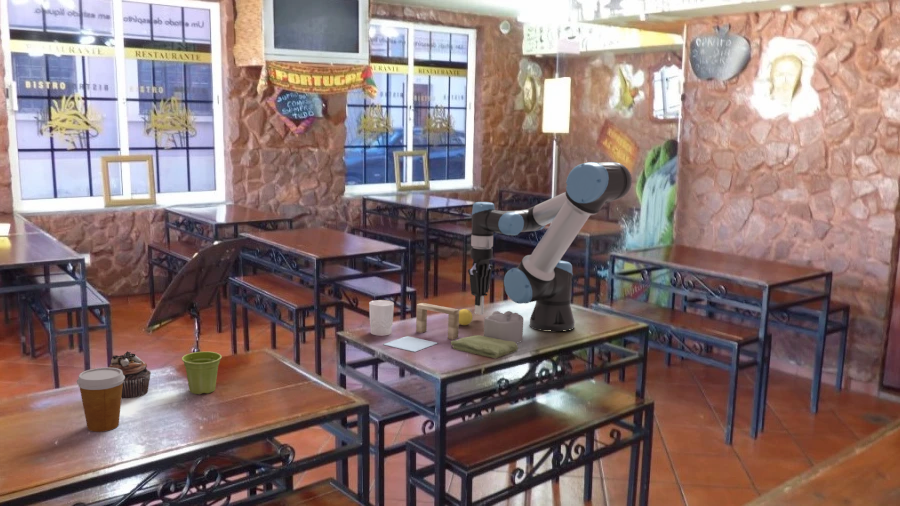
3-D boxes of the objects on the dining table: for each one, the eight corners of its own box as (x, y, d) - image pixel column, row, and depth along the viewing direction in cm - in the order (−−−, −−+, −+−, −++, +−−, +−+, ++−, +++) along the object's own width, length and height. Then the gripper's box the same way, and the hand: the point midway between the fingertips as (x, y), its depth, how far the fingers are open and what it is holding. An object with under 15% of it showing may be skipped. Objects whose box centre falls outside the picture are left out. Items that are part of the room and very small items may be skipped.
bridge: (421, 329, 257) (422, 302, 255) (458, 337, 249) (459, 309, 247) (416, 331, 254) (416, 304, 253) (452, 339, 246) (453, 311, 245)
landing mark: (437, 343, 242) (437, 342, 242) (414, 352, 232) (414, 351, 232) (407, 336, 248) (407, 336, 248) (383, 344, 238) (383, 344, 238)
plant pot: (229, 387, 197) (229, 354, 196) (206, 399, 188) (206, 364, 187) (198, 382, 200) (197, 349, 199) (174, 393, 191) (173, 359, 190)
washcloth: (473, 340, 248) (473, 330, 247) (520, 352, 237) (520, 341, 237) (447, 349, 238) (448, 339, 237) (495, 361, 227) (495, 350, 226)
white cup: (395, 330, 255) (395, 300, 253) (391, 337, 247) (391, 306, 246) (371, 329, 256) (371, 299, 254) (366, 335, 248) (366, 305, 246)
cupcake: (132, 402, 185) (130, 361, 183) (100, 396, 188) (98, 356, 187) (160, 389, 194) (158, 351, 192) (128, 384, 197) (127, 346, 196)
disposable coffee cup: (88, 418, 175) (86, 366, 173) (132, 418, 175) (130, 366, 173) (72, 435, 165) (69, 380, 163) (118, 434, 166) (116, 380, 164)
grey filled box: (479, 339, 248) (480, 313, 246) (506, 332, 257) (507, 307, 256) (503, 346, 241) (505, 319, 239) (530, 339, 250) (531, 313, 248)
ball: (475, 324, 265) (475, 309, 264) (466, 328, 261) (467, 312, 260) (461, 322, 268) (462, 306, 267) (452, 325, 264) (453, 309, 263)
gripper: (482, 243, 276) (479, 308, 279) (462, 248, 265) (459, 315, 269) (500, 246, 271) (497, 312, 275) (480, 250, 261) (478, 319, 265)
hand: (479, 313), depth 272 cm, fingers closed
